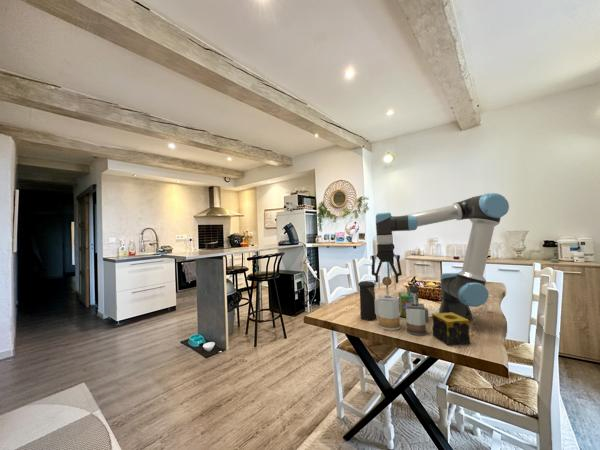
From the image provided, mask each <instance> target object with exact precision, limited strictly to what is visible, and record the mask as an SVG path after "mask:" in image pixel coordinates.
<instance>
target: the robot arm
mask: <svg viewBox="0 0 600 450" xmlns="http://www.w3.org/2000/svg"><path fill="white" fill-rule="evenodd" d="M509 209H510V205H509V202H508V200H507V199H506V197H505V196H504V195H502V194H500V193H498V192H497V193H495V192H492V193H489V192H488V193H484V194H482V195H475V196H472V197H469V198H467V199H464V200H460V201H458V202H454V203H452V205H448V206H442V207H438V208H433V209H429V210H423V211H419V212H414V213H410V214H409V213H408V214H405V215H397V216H396V215H395V216H392V213H391V212H379V213H376V215H375V230H376V243H377V244H376V250H377V251H376V252H377V253H376V254H372V255H371V260H372V261H371V262H372V263H371V275H372V276H374V277H375V283H377V287H378V288H377V290H381V277H380V275H379V274H380V271H381V270H380V269H381V267H382V264H383V263H389V264H390V267H391V269H392V272H393V274H394V276H393V280H394V281H393V282H394V283H393V285H394V291H397V284H399V277H400V276H402V275H403V274H402V273H403V272H402V267H401V262H400V259H401V255H400V254H395V253H394V245H393V232H404V231H405V232H407V231H408V232H411V231H416V230H417V229H418V227H423V226H427V225H432V224H438V223H442V222H448V221H453V220H457V221H461V220H469V222H471V229H470V233H469V238H468V242H467V247H466V250H465V255H464V260H463V264H462V268H461V271H459V272H451V273H450V272H447V273H442V274H441V275H440V288H441V289H440V290H441V302H440V307H439V310H438V313H450V312H453V313H455V314H457V315H459V316H461V317H463V318H465V319H468V320H469V322H470V321H472V320H473V318H474V317H473V313H472V310H471V307H472V308H476V307H481V306H483V305H484V304H485V303H486V302H487V301H488V299H489V291H488V289H487V287H486V283H487V280H486V278H485V277H484V273H485V269H486V264H487V260H488V255H489V252H490V248H491V247H490V246H491V242H492V240H493V234H494V230H495V227H496V226H498V225H500V222H501V219H502V217H504V216H505V215H506V214H508V212H509ZM394 258H395V260H396V265H397V269H398V271H397V269H396V267H395V265H394V263H393V259H394ZM376 259H378V260H379V263H378V266H377V269H375V267H376ZM375 270H376V271H375Z"/></svg>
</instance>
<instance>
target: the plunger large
mask: <svg viewBox="0 0 600 450" xmlns="http://www.w3.org/2000/svg"><path fill="white" fill-rule="evenodd" d="M381 282H382V285H384V286H385V292H386V295H387V298H389V295H390V294H389V293H390V292H389V286H390V285H392V279H391V278H390V277H388V276H384V277H383V278H382V279H381ZM388 302H389V301H388Z"/></svg>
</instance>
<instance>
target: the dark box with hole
mask: <svg viewBox="0 0 600 450" xmlns="http://www.w3.org/2000/svg"><path fill="white" fill-rule="evenodd" d="M431 317H432V322H433V324H432V336H433V337H434V338H435V339H437V340H438V341H440V342H442V343H443V344H445V345H447V346H460V345H469V344H471V337H470V321H469V320H468V319H465V318H463V317H461V316H459V315H457V314H455V313H453V312H450V313H439V312H438V313H437V312H436V313H435V312H434V313H432V314H431Z"/></svg>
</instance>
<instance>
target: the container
mask: <svg viewBox="0 0 600 450" xmlns="http://www.w3.org/2000/svg"><path fill="white" fill-rule="evenodd" d="M375 283H376V282H373V281H370V280H365V281H364V280H363V281H360V282H358V284H357V285H358V287H359V308H360V311H359V312H360V315H359V316H360V319H361V320H363V321H375V320H377V319H378V317H377V316H378V315H377V314H375V301H374V300H375V299H376V293H375V285H376V284H375Z"/></svg>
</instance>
